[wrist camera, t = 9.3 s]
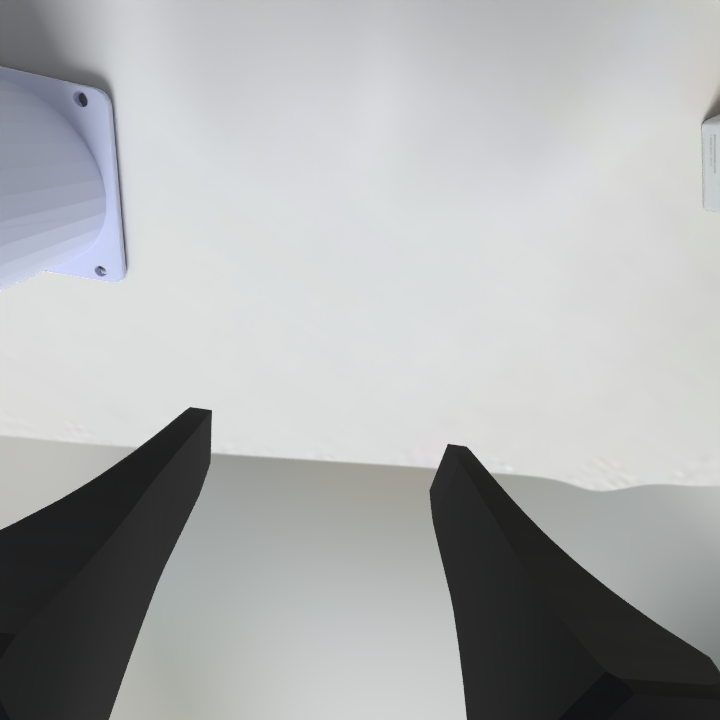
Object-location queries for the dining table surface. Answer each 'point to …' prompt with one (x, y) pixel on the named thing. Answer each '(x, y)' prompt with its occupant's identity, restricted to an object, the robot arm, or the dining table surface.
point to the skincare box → (711, 164)
